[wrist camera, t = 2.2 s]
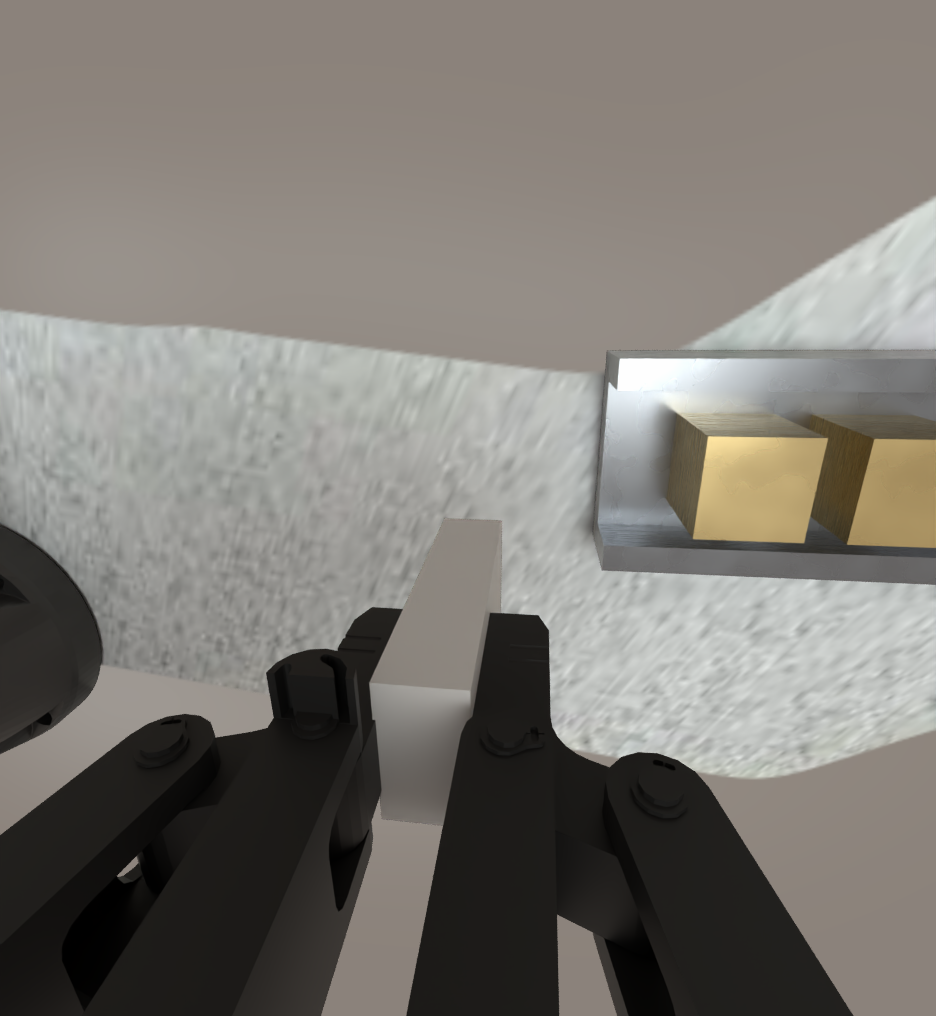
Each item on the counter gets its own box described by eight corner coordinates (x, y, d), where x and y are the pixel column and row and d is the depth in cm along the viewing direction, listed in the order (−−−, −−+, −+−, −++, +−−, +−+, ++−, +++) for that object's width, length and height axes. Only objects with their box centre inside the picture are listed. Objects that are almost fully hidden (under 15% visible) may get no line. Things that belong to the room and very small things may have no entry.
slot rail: (592, 534, 27) (601, 570, 24) (606, 350, 24) (619, 358, 21) (958, 547, 25) (1031, 588, 22) (1026, 349, 22) (1124, 358, 19)
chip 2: (793, 503, 24) (847, 544, 20) (812, 414, 23) (874, 438, 19) (889, 505, 24) (965, 549, 20) (914, 415, 22) (1002, 440, 18)
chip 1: (666, 499, 25) (692, 539, 21) (677, 412, 23) (708, 436, 19) (757, 502, 24) (803, 543, 20) (774, 413, 23) (828, 438, 19)
